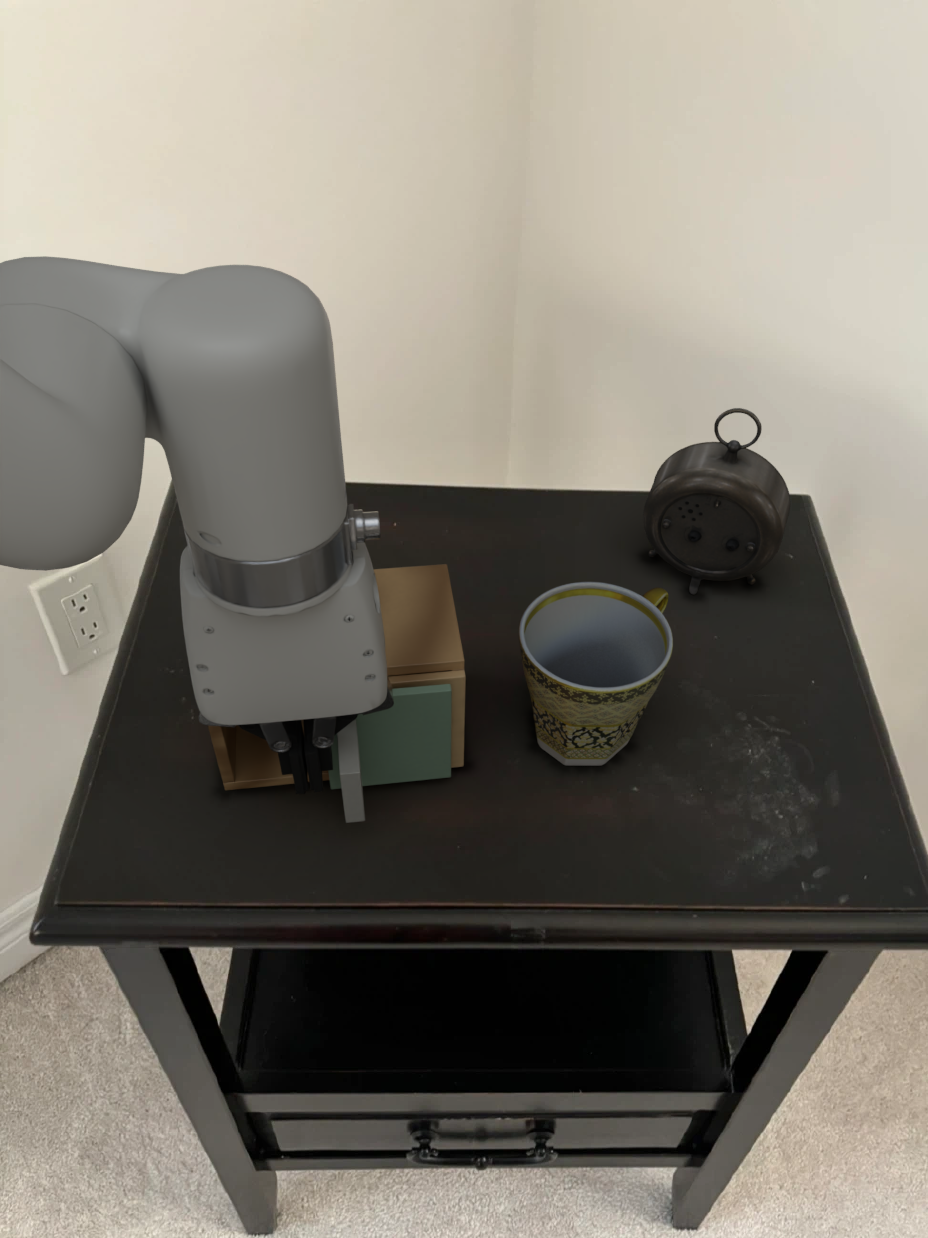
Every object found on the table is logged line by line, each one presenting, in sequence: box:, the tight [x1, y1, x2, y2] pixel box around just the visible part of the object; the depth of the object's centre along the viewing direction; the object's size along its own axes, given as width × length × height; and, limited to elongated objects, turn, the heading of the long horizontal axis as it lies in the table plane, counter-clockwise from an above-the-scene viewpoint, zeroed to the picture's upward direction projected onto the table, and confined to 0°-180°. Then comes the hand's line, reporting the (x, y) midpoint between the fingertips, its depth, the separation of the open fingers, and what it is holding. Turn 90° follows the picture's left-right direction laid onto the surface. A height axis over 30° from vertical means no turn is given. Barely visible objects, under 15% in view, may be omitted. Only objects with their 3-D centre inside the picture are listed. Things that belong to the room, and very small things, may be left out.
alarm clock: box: [642, 407, 791, 595], centre depth 79 cm, size 11×5×16 cm, turn 71°
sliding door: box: [328, 684, 452, 824], centre depth 64 cm, size 8×5×9 cm, turn 99°
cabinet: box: [207, 563, 467, 791], centre depth 69 cm, size 16×10×11 cm, turn 99°
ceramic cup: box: [518, 581, 674, 767], centre depth 71 cm, size 13×10×10 cm
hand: (309, 773), depth 62 cm, fingers closed
